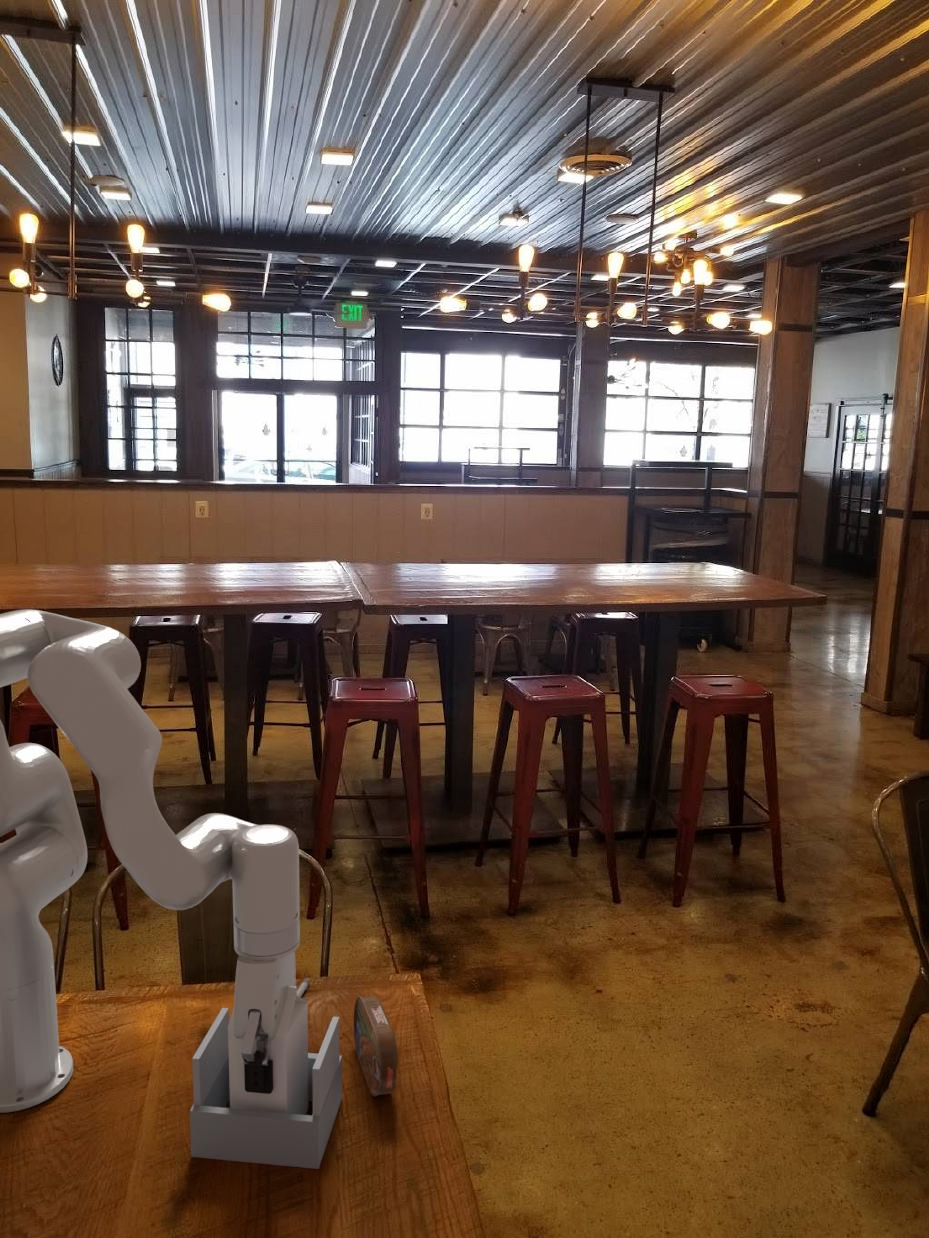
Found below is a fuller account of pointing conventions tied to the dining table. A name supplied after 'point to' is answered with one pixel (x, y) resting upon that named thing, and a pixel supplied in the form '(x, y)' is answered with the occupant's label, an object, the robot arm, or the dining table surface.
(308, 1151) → the flap box
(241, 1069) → the milk carton
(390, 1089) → the tin
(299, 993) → the pen
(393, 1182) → the dining table surface
